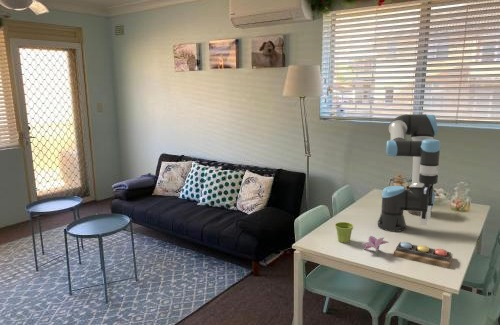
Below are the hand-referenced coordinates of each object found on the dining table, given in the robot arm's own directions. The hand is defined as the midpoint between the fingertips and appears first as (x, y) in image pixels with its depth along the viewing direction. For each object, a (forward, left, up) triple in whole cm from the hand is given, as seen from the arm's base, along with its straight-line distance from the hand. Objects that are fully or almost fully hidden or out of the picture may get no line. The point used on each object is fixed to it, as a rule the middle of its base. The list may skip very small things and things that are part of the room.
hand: (425, 221), depth 172 cm
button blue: (-8, 0, -14) cm, 16 cm away
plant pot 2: (-14, +65, -18) cm, 69 cm away
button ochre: (0, 0, -14) cm, 14 cm away
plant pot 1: (-38, -1, -18) cm, 42 cm away
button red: (+8, 0, -14) cm, 16 cm away
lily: (-20, -7, -18) cm, 28 cm away
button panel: (0, 0, -17) cm, 17 cm away
